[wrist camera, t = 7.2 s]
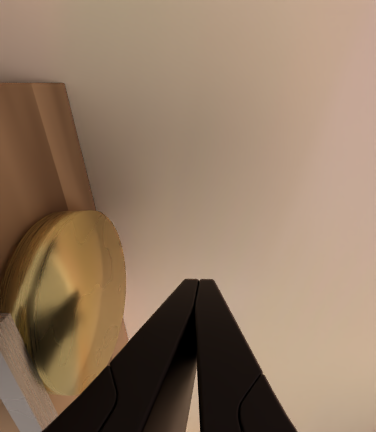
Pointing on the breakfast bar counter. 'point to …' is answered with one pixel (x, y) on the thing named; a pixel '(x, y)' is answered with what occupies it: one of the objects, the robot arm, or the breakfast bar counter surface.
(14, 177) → the block
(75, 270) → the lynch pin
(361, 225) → the breakfast bar counter surface
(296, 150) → the breakfast bar counter surface
